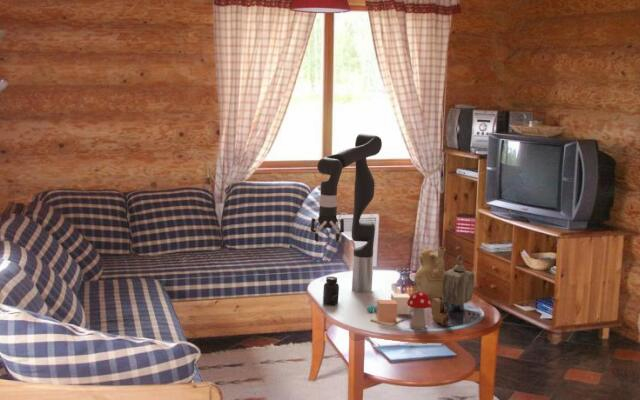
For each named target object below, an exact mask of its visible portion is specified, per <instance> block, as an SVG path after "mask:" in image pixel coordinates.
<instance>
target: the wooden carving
mask: <svg viewBox="0 0 640 400" xmlns="http://www.w3.org/2000/svg"><path fill="white" fill-rule="evenodd" d="M430 300H431V304H432V305H431V307H429V308H430V309H431V316H432V318H433V319H434V321H435V322H436V323H437V324H440V325H441V326H445V325H448V324H449V321H450V316H449V313H448V312H447V311H445V308H446V304H445V303H446V302H443V301H442V298H432V299H430Z"/></svg>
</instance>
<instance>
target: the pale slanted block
mask: <svg viewBox="0 0 640 400" xmlns="http://www.w3.org/2000/svg"><path fill="white" fill-rule="evenodd" d="M410 296H411V295H409V293H391V296H390V300H395V301H396V303H397V315H410V313H411V307H410V306H408V305H407V302H408V299H409V298H410Z"/></svg>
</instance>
